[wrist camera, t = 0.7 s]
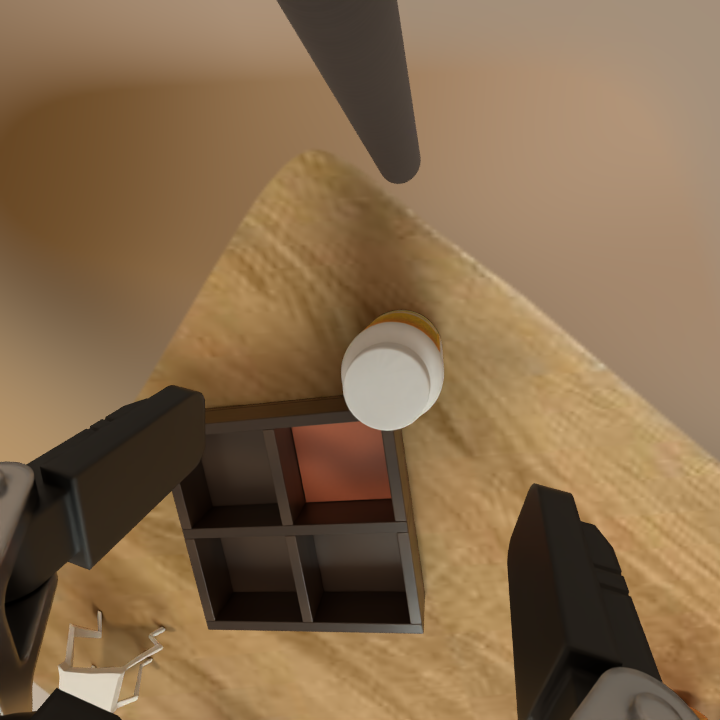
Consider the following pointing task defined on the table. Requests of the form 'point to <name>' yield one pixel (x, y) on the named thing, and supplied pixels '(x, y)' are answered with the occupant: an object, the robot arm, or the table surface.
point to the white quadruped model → (100, 673)
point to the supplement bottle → (393, 370)
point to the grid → (302, 522)
